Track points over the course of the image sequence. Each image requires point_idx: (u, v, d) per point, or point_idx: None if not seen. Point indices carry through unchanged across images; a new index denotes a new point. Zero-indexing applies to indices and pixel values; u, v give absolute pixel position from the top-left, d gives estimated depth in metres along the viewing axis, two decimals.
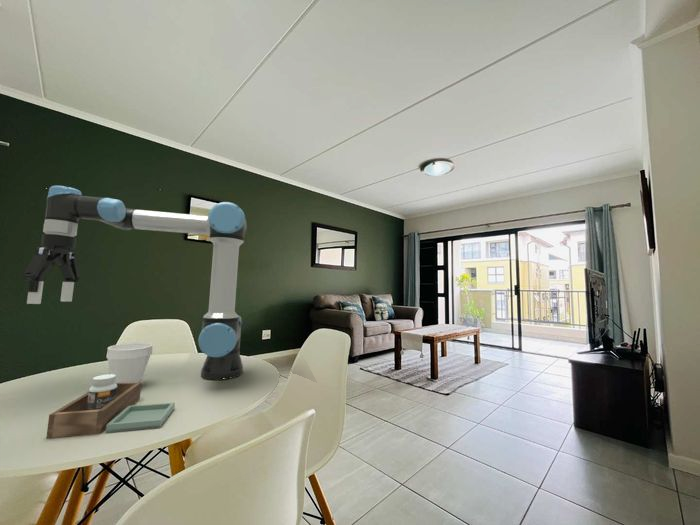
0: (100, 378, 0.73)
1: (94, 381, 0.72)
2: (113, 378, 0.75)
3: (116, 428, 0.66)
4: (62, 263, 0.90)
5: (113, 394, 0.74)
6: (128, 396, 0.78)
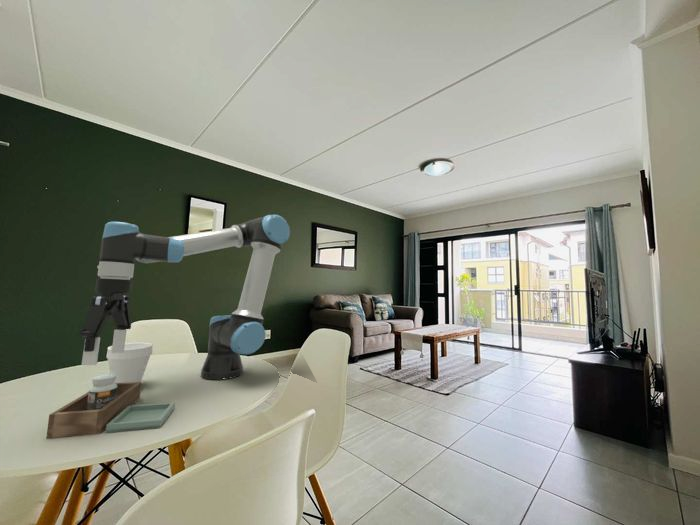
0: (100, 378, 0.73)
1: (94, 381, 0.72)
2: (113, 378, 0.75)
3: (116, 428, 0.66)
4: (117, 311, 0.77)
5: (113, 394, 0.74)
6: (128, 396, 0.78)
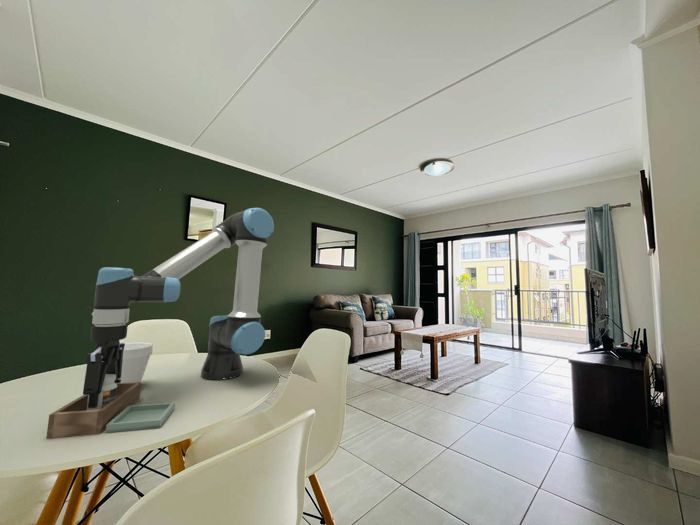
0: None
1: None
2: (113, 378, 0.75)
3: (116, 428, 0.66)
4: (113, 357, 0.76)
5: (113, 394, 0.74)
6: (128, 396, 0.78)
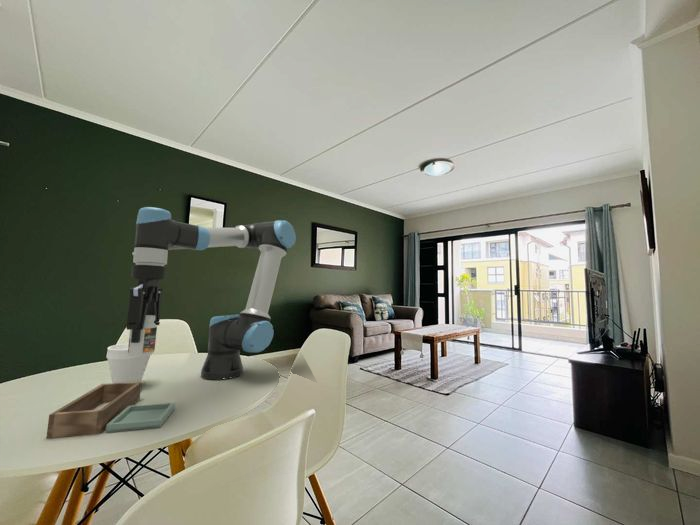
0: None
1: None
2: (153, 317, 0.75)
3: (116, 428, 0.66)
4: (152, 297, 0.77)
5: (153, 332, 0.74)
6: (128, 396, 0.78)
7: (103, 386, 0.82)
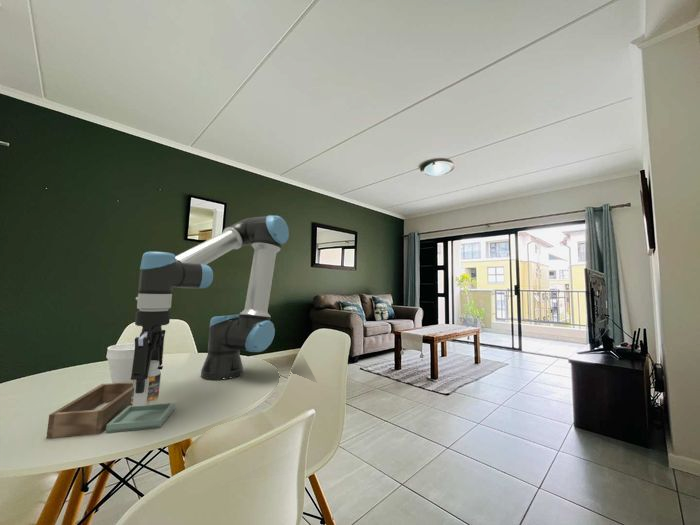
0: None
1: None
2: (157, 364, 0.74)
3: (116, 428, 0.66)
4: (156, 343, 0.75)
5: (157, 380, 0.73)
6: (128, 396, 0.78)
7: (103, 386, 0.82)
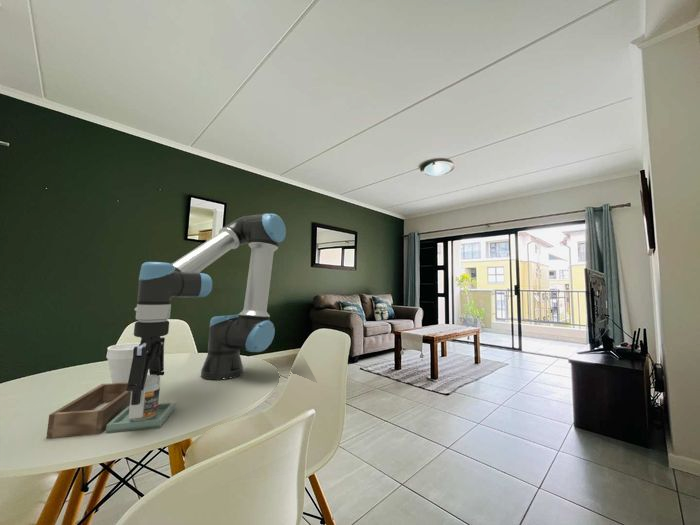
0: None
1: None
2: (156, 379, 0.73)
3: (116, 428, 0.66)
4: (155, 353, 0.75)
5: (156, 395, 0.73)
6: (128, 396, 0.78)
7: (103, 386, 0.82)
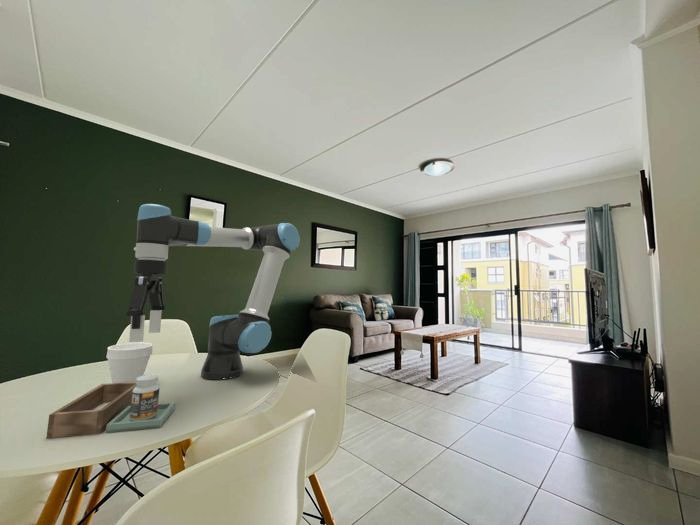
0: (144, 379, 0.72)
1: (138, 382, 0.71)
2: (156, 379, 0.73)
3: (116, 428, 0.66)
4: (154, 291, 0.80)
5: (156, 395, 0.73)
6: (128, 396, 0.78)
7: (103, 386, 0.82)
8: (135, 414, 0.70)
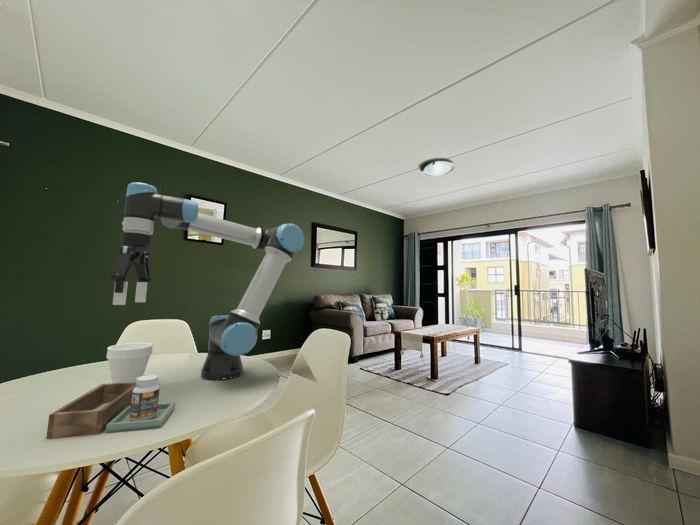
0: (144, 379, 0.72)
1: (138, 382, 0.71)
2: (156, 379, 0.73)
3: (116, 428, 0.66)
4: (140, 262, 0.87)
5: (156, 395, 0.73)
6: (128, 396, 0.78)
7: (103, 386, 0.82)
8: (135, 414, 0.70)
